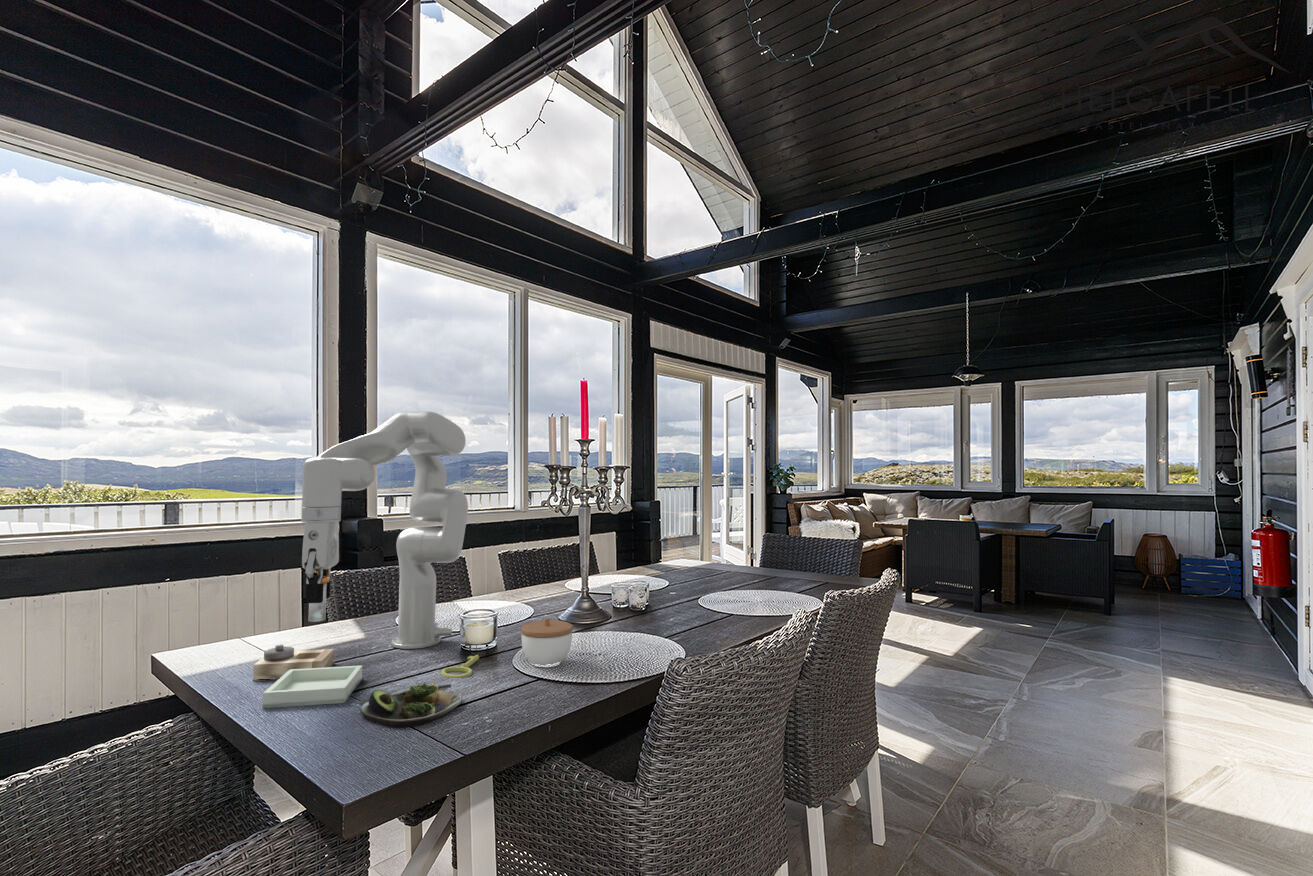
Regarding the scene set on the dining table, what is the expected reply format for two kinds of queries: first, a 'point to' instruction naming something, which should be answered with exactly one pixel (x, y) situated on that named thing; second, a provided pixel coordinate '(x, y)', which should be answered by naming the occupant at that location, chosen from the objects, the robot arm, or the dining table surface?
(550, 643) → the lidded bowl
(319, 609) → the white jar gold lid
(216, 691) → the dining table surface
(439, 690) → the salad plate
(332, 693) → the tray
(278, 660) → the wooden holder
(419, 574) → the robot arm
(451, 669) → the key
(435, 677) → the dining table surface
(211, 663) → the dining table surface
